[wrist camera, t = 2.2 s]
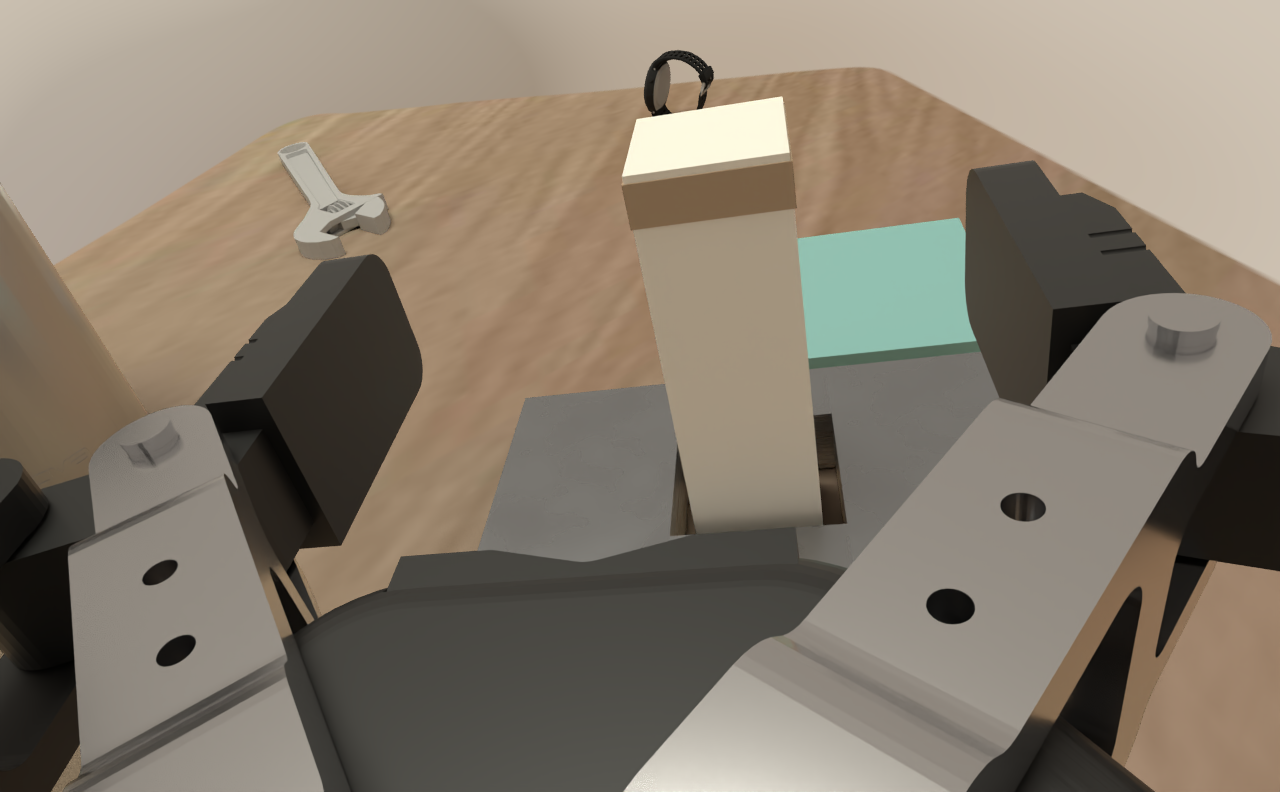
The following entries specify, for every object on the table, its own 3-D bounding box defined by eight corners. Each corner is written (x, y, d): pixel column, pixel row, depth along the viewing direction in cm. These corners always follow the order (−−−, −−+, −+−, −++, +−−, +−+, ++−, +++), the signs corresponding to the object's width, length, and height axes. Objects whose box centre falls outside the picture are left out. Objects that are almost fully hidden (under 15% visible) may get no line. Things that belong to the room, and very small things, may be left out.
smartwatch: (675, 111, 67) (664, 43, 65) (726, 118, 64) (717, 47, 61) (637, 131, 65) (624, 62, 63) (689, 139, 62) (677, 67, 59)
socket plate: (479, 670, 28) (455, 618, 26) (541, 446, 37) (525, 398, 35) (1093, 643, 25) (1103, 582, 23) (999, 404, 33) (1002, 349, 32)
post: (702, 574, 29) (619, 177, 21) (705, 490, 33) (635, 119, 25) (828, 566, 29) (791, 153, 21) (819, 481, 32) (784, 95, 24)
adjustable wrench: (281, 167, 77) (273, 147, 76) (354, 144, 78) (347, 124, 77) (306, 272, 57) (295, 247, 56) (403, 239, 58) (394, 214, 57)
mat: (741, 377, 38) (740, 365, 38) (740, 256, 47) (739, 246, 46) (1013, 349, 36) (1013, 337, 36) (958, 228, 45) (958, 217, 44)
